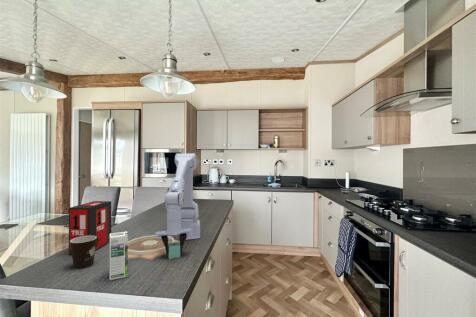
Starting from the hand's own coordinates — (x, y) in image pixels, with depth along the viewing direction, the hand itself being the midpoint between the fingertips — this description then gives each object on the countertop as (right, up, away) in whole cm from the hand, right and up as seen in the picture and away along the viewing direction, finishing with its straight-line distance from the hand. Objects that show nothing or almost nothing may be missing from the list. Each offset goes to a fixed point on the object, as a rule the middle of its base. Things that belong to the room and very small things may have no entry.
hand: (173, 252), depth 100 cm
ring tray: (-14, -2, +10) cm, 17 cm away
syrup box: (-15, -2, -17) cm, 22 cm away
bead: (0, -2, 0) cm, 2 cm away
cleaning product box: (-41, -2, +10) cm, 42 cm away
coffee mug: (-32, -2, -7) cm, 32 cm away
